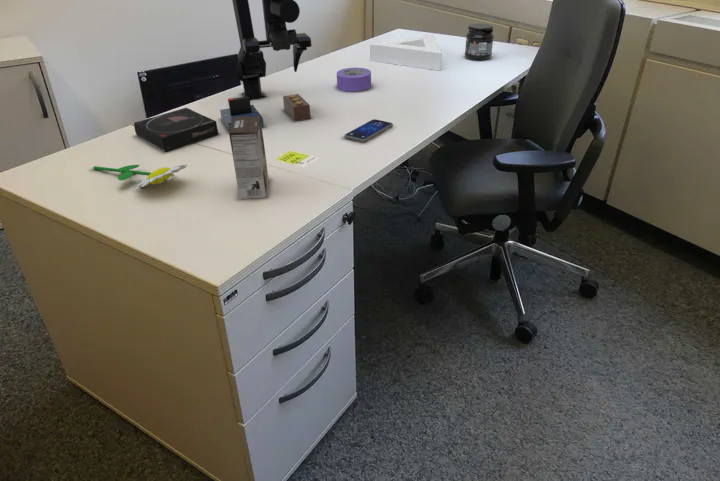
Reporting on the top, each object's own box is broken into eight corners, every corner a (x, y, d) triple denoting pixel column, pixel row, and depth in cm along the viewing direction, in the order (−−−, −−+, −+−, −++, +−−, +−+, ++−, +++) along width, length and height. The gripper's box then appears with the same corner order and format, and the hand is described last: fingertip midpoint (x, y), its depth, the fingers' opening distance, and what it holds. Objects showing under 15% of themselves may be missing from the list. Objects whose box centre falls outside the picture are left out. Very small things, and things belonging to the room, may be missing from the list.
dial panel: (221, 119, 166) (219, 109, 165) (254, 114, 170) (253, 104, 168) (229, 133, 157) (227, 122, 155) (264, 127, 160) (263, 116, 159)
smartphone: (342, 134, 152) (373, 118, 162) (342, 138, 152) (373, 121, 162) (364, 140, 148) (394, 123, 158) (364, 143, 148) (394, 126, 159)
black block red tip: (250, 110, 163) (248, 95, 161) (251, 112, 162) (249, 96, 159) (230, 113, 161) (227, 98, 159) (231, 115, 160) (229, 100, 158)
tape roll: (331, 90, 188) (330, 75, 185) (345, 80, 197) (344, 66, 194) (363, 93, 184) (363, 78, 181) (376, 83, 193) (376, 68, 190)
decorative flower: (76, 187, 135) (160, 199, 121) (69, 169, 133) (154, 179, 118) (119, 170, 145) (201, 179, 130) (113, 152, 143) (196, 159, 128)
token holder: (284, 109, 172) (282, 94, 170) (299, 107, 174) (298, 92, 171) (294, 121, 164) (293, 105, 161) (310, 118, 165) (309, 103, 163)
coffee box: (242, 181, 132) (232, 116, 123) (269, 179, 132) (261, 115, 123) (238, 199, 124) (227, 132, 115) (267, 198, 124) (258, 130, 115)
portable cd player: (187, 119, 167) (185, 107, 164) (218, 134, 156) (216, 121, 154) (136, 135, 157) (132, 122, 155) (165, 152, 147) (162, 138, 145)
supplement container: (475, 52, 224) (478, 21, 218) (496, 57, 218) (500, 25, 211) (458, 57, 218) (461, 25, 212) (480, 62, 212) (483, 30, 205)
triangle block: (440, 70, 204) (441, 53, 201) (370, 71, 205) (370, 54, 201) (432, 49, 229) (433, 34, 226) (370, 51, 230) (369, 35, 226)
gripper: (244, 25, 143) (252, 85, 152) (314, 19, 148) (318, 77, 156) (238, 17, 152) (246, 74, 160) (304, 11, 157) (308, 67, 165)
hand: (279, 73), depth 160 cm, fingers open, 9 cm apart
